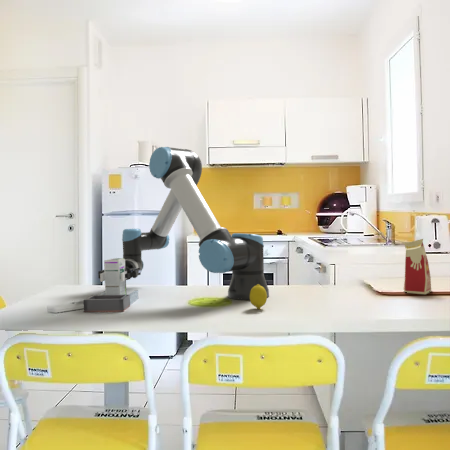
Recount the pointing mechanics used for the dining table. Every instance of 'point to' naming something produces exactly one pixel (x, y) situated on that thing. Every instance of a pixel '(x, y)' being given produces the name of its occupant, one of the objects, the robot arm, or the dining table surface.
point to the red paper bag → (416, 268)
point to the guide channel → (132, 296)
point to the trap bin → (106, 303)
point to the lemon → (258, 296)
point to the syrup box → (114, 276)
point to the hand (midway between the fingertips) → (111, 277)
